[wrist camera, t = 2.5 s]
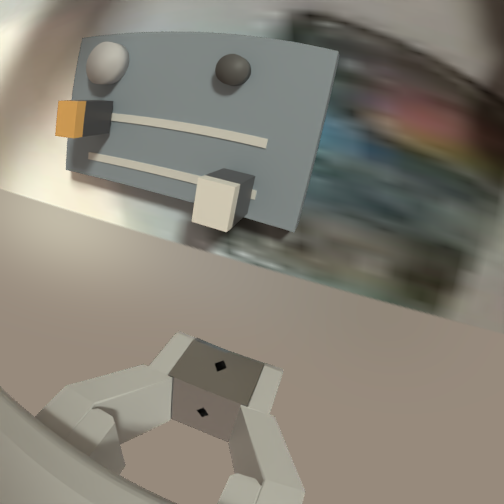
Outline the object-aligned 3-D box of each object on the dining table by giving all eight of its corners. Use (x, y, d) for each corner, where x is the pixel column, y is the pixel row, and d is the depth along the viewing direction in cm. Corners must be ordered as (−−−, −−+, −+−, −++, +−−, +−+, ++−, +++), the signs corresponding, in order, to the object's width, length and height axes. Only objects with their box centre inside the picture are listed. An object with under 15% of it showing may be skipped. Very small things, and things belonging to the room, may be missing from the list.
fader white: (217, 205, 25) (191, 221, 21) (224, 168, 24) (198, 177, 20) (247, 213, 24) (226, 232, 20) (255, 175, 23) (235, 186, 19)
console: (78, 166, 30) (55, 172, 27) (95, 40, 24) (72, 36, 21) (297, 224, 26) (290, 238, 23) (339, 57, 20) (337, 46, 17)
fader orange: (90, 130, 26) (55, 135, 22) (93, 99, 24) (58, 100, 20) (109, 133, 25) (73, 138, 21) (113, 100, 24) (77, 101, 20)
